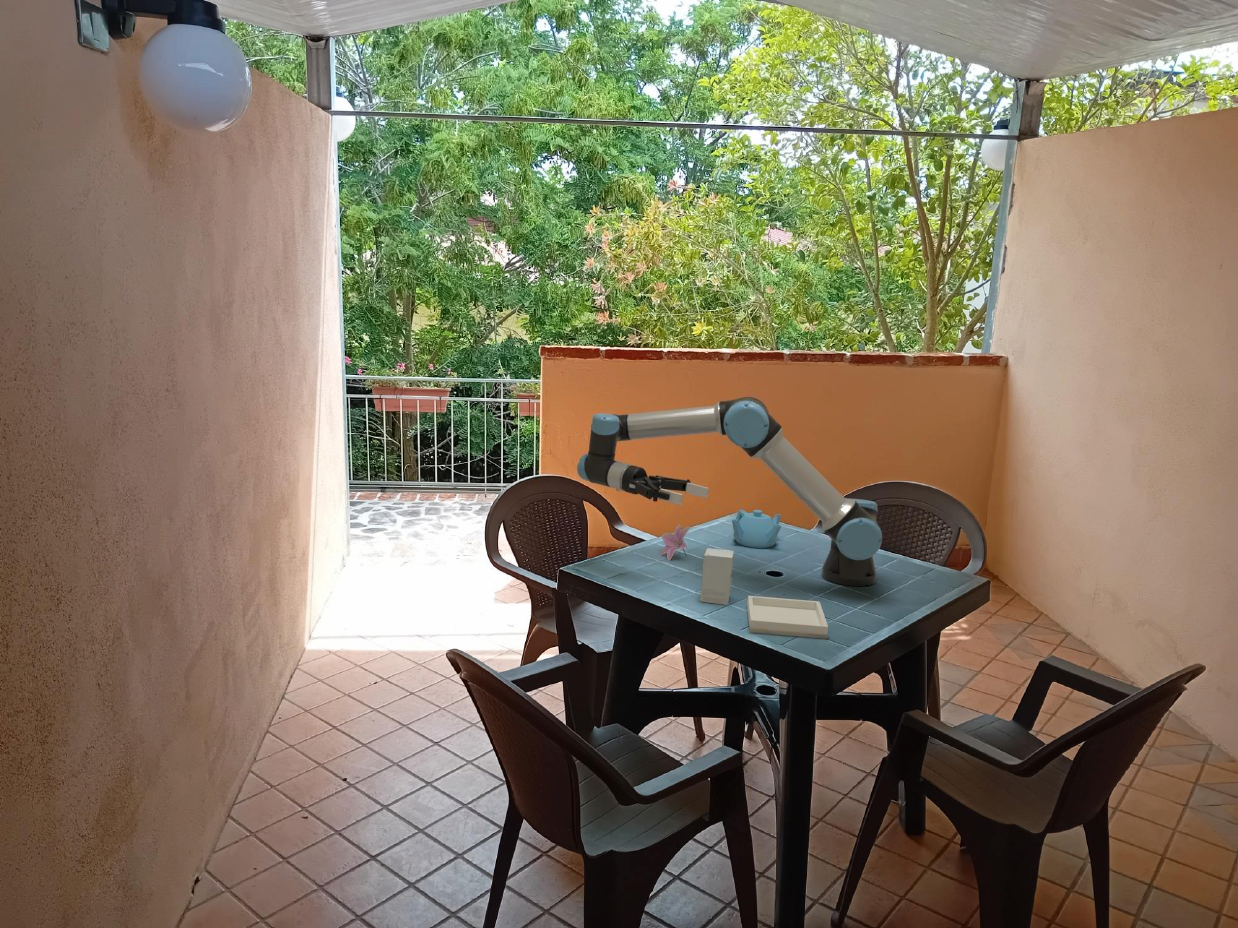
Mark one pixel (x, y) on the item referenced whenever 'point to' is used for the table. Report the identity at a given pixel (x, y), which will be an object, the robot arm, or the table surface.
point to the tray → (786, 617)
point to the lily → (674, 541)
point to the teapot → (756, 529)
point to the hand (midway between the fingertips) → (695, 496)
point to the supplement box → (717, 576)
